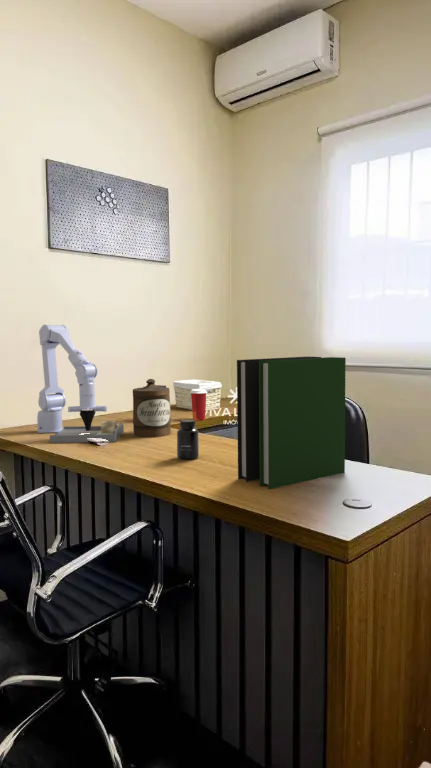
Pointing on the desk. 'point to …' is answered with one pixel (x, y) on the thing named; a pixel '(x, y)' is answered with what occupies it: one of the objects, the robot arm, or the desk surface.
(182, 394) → the storage basket
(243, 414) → the upright hardcover books
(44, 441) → the desk surface
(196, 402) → the paper cup
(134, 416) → the wooden container
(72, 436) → the grey tray
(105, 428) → the birch block
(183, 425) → the supplement bottle
